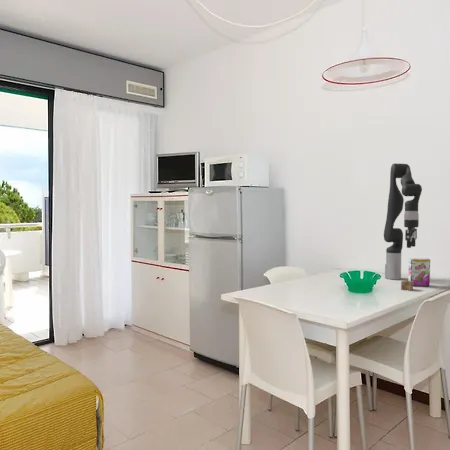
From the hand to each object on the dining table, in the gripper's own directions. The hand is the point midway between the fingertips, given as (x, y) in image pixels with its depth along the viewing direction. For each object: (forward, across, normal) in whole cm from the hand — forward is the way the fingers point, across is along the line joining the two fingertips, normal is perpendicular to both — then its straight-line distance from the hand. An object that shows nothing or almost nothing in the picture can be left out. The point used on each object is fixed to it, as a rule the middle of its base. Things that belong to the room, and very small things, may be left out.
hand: (411, 247), depth 241 cm
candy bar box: (+25, -15, +1) cm, 29 cm away
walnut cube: (+25, +1, -2) cm, 25 cm away
